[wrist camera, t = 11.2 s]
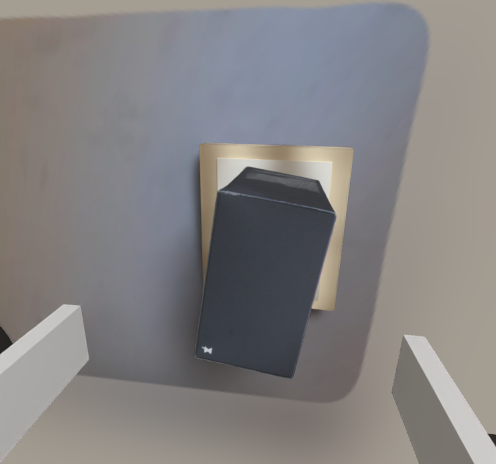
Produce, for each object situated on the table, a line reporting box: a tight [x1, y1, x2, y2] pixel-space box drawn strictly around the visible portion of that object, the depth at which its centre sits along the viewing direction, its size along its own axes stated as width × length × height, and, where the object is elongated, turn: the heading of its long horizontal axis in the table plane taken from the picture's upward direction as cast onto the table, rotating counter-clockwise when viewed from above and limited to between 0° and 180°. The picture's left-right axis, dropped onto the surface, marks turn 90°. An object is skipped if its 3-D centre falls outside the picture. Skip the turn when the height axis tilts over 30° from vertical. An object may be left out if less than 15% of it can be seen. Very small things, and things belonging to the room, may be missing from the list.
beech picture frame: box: [199, 143, 354, 311], centre depth 28 cm, size 12×14×3 cm
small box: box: [194, 166, 337, 379], centre depth 22 cm, size 11×6×10 cm, turn 170°
